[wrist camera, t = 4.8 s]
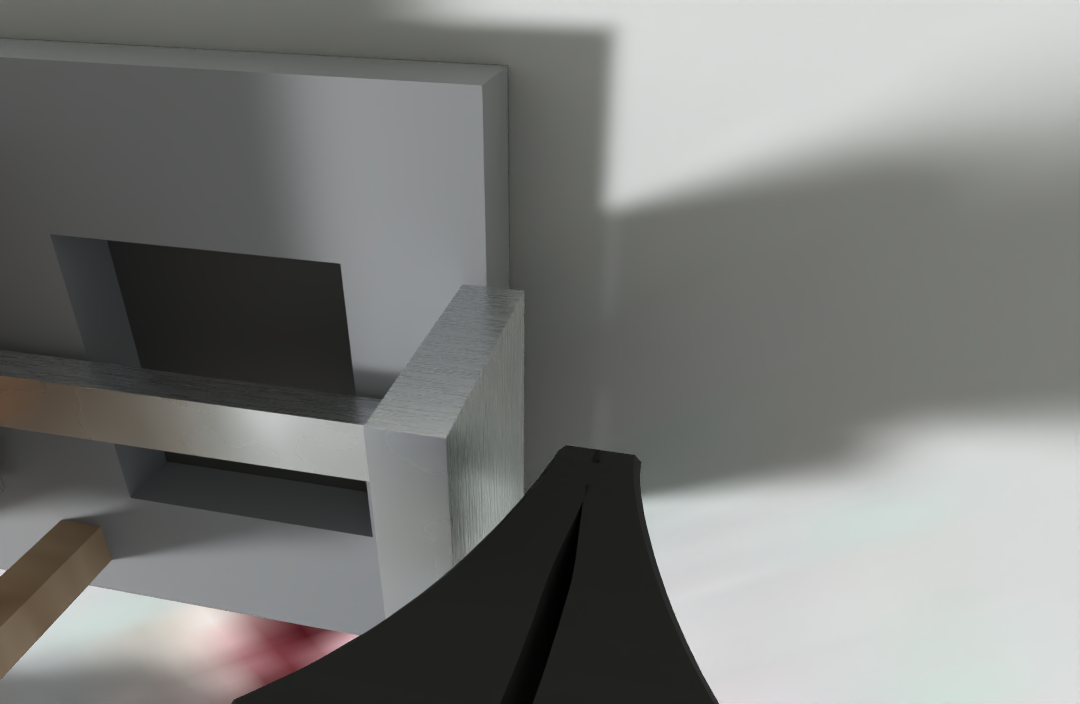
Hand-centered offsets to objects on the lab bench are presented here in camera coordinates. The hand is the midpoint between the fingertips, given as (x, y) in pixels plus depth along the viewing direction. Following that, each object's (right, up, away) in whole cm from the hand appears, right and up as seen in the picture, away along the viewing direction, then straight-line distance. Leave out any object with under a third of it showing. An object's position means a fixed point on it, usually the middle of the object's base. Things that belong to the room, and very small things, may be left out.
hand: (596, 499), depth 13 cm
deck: (-13, +3, +5) cm, 14 cm away
